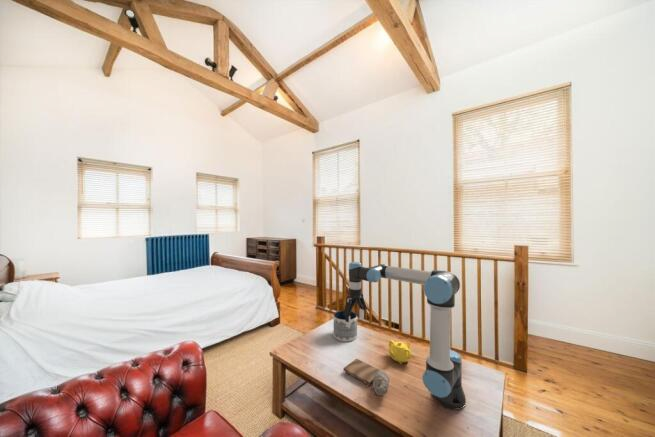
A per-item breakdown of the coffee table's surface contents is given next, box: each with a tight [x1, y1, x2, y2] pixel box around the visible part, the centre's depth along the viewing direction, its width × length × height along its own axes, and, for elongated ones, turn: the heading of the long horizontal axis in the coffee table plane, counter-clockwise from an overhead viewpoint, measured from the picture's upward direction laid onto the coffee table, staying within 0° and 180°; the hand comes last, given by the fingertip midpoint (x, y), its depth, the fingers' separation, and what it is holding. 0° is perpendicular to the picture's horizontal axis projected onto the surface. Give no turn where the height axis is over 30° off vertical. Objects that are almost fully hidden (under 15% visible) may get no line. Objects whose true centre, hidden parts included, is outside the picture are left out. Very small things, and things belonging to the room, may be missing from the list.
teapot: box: [387, 339, 413, 365], centre depth 153 cm, size 20×18×11 cm
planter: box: [333, 310, 358, 343], centre depth 184 cm, size 18×18×16 cm
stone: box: [372, 369, 390, 396], centre depth 124 cm, size 9×14×10 cm, turn 155°
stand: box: [343, 358, 380, 387], centre depth 138 cm, size 18×13×3 cm
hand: (355, 323), depth 144 cm, fingers open, 13 cm apart
